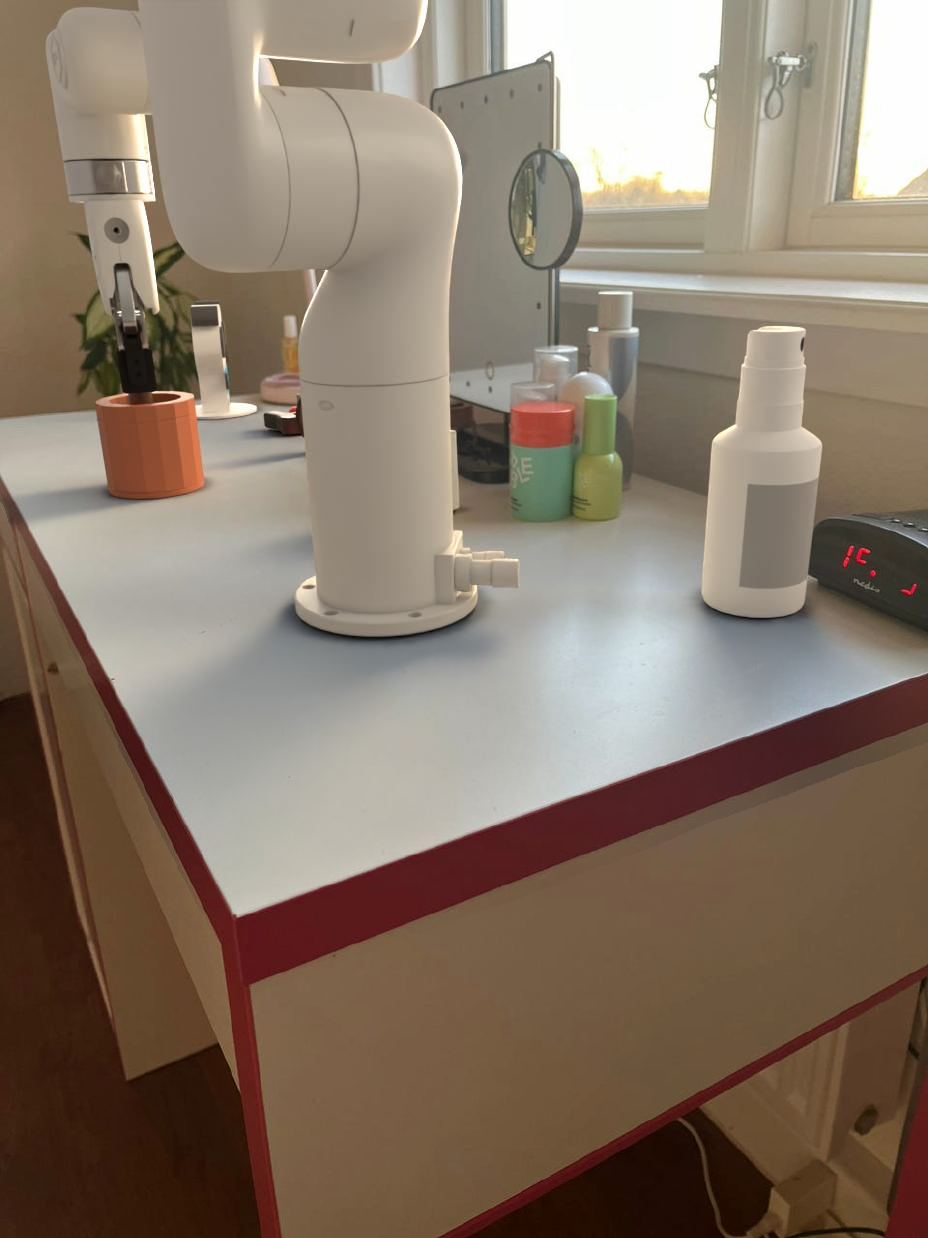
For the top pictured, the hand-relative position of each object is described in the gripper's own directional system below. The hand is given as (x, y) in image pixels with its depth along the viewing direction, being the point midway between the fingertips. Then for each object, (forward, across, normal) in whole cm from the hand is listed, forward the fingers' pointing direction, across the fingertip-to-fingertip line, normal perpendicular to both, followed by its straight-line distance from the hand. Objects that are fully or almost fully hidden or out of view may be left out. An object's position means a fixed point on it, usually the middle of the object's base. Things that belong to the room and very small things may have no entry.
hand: (139, 388), depth 97 cm
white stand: (+10, +44, -10) cm, 46 cm away
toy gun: (+10, +27, -21) cm, 36 cm away
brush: (+9, 0, 0) cm, 9 cm away
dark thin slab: (+10, +9, -22) cm, 26 cm away
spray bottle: (+11, -49, -38) cm, 63 cm away
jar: (+10, +1, 0) cm, 10 cm away
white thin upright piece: (+10, -18, -23) cm, 30 cm away
